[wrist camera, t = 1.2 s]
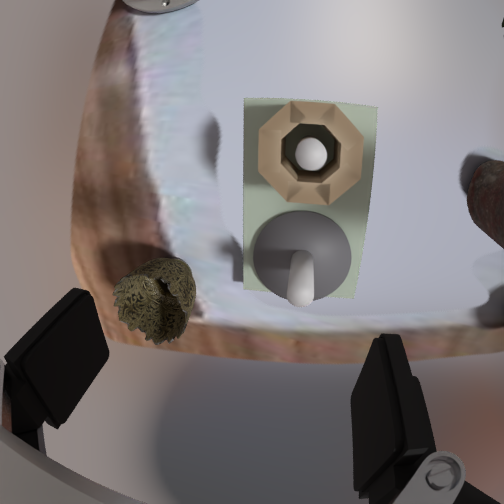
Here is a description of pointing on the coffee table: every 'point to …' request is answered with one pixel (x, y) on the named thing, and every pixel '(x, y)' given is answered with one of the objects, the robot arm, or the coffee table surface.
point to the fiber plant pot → (157, 298)
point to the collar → (302, 181)
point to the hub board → (304, 212)
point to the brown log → (488, 199)
